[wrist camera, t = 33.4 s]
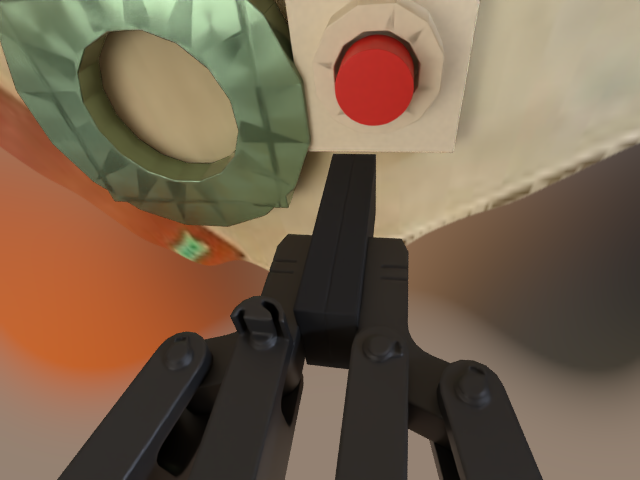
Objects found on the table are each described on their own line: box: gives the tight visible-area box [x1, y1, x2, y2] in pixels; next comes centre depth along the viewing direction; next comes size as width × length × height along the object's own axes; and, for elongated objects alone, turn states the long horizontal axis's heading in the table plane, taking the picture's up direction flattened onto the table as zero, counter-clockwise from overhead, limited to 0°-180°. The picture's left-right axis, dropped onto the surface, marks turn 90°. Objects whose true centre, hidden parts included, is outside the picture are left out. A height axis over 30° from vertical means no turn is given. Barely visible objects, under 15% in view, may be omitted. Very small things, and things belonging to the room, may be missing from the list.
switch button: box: [335, 34, 414, 126], centre depth 20 cm, size 4×4×2 cm
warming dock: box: [0, 0, 311, 227], centre depth 27 cm, size 21×21×2 cm
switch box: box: [285, 0, 480, 153], centre depth 22 cm, size 10×12×4 cm
